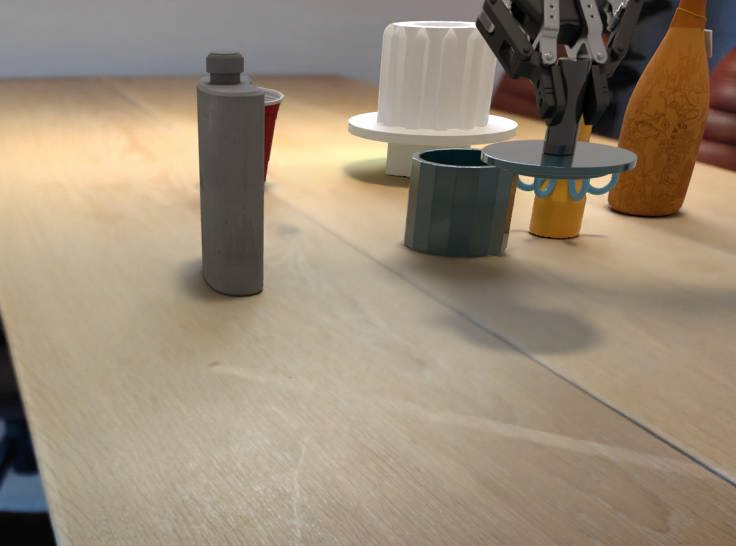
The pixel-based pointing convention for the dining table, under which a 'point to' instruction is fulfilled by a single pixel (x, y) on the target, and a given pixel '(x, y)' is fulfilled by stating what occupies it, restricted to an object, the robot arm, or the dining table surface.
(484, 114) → the flanged gear
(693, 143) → the wine bottle
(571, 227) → the cylinder
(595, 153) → the lid
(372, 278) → the dining table surface
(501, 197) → the pot
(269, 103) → the plastic cup
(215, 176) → the flask
